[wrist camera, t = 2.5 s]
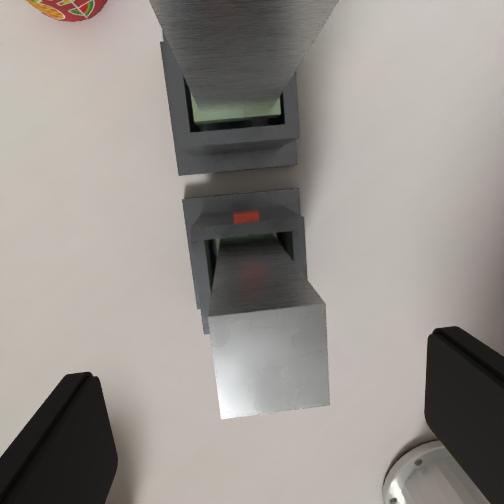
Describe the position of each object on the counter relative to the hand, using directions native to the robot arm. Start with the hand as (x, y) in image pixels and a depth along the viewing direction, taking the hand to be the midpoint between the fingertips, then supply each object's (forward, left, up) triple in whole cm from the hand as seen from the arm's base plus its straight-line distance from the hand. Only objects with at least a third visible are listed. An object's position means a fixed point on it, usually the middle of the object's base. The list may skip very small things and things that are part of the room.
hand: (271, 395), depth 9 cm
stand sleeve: (0, 0, -21) cm, 21 cm away
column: (0, 0, -20) cm, 20 cm away
